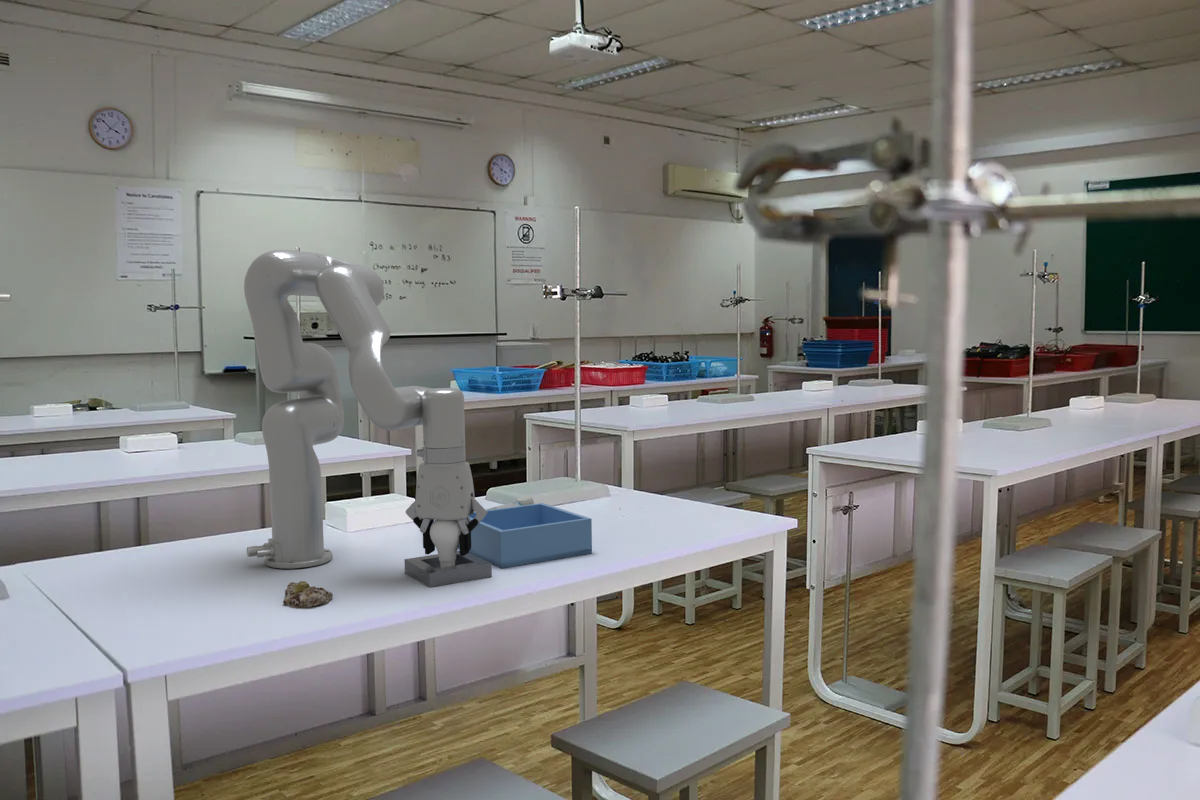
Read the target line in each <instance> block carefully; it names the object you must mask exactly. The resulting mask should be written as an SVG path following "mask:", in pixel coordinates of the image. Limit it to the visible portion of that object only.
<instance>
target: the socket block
mask: <svg viewBox="0 0 1200 800" xmlns="http://www.w3.org/2000/svg"><path fill="white" fill-rule="evenodd" d="M492 565H493V564H492V563H490V562H488V561H486V560H484V559H482V558H480V557H477V556H475V555H473V554H471V553H468V554H466V555H465V556H461V555H460V550H457V553H456V560H455V566H450V567H443V568H441V566H440V561H439V556H438V553H437V554H428V555H424V556H417V557H411V558H405V559H404V573H405V574H406V575H408V576H410V577H412V578H414V579H415V580H417V581H419V582H420V583H422V584H423V583H424V584H423V585H425V584H426V585H425V586H427V587H429V588H433V586H435V587H439V586H438V585H440V586H445V585H444V584H446V585H450V584H449V583H452V584H456V583H455V582H458V583H462V582H463V581H464V582H468V581H469V582H470V581H475V580H480V579H486V578H492V577H493V573H492V570H493V569H492V568H493V567H492Z"/></svg>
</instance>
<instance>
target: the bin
mask: <svg viewBox="0 0 1200 800" xmlns="http://www.w3.org/2000/svg"><path fill="white" fill-rule="evenodd" d="M486 511H487V513H488V514H487V516H486V517H485V518H484V519H483V520H482V521H481V522H480V523H479V524H478V525H477V526H476V527H475V528H474V529H473V530H472V531H471V550H469V553H471V554H473V555H475V556H477V557H480V558H482V559H484V560H486V561H488V562H490V563H492V565H493V566H495V567H497V568H500V569H508V568H512V567H513V566H514V567H519V566H518V565H520V566H525V565H524V564H526V565H530V564H531V563H532V564H538V563H544V562H549V561H554V560H560V559H567V557H568V558H572V557H573V556H574V557H579V556H578V555H580V556H583V555H584V556H586V555H591V554H593V539H592V538H593V534H592V533H593V532H592V530H593V529H592V522H593V521H592V518H590V517H587V516H584V515H581V514H578V513H576V512H572V511H569V510H567V509H566V510H565V509H562V508H559V507H556V506H553V505H550V504H547V503H543V502H540V503H534V504H531V505H523V506H516V507H508V508H500V509H493V510H486ZM475 516H476V512H475V511H474V513H473V514H472V515H469V518H470V520H473V519H474V518H475ZM458 549H459V550H460V544H459V546H458ZM574 557H573V558H574ZM532 564H531V565H532Z"/></svg>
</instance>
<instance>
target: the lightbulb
mask: <svg viewBox="0 0 1200 800" xmlns="http://www.w3.org/2000/svg"><path fill="white" fill-rule="evenodd" d="M460 534H462V530H461V528H460V525H459V523H458V520H434V522H433V523H432V525H431V528H430V537H431V540H432V542H433V543H434V545H435V550H436V551H437V554H438V556H439V561H440V566H441V568H443V567H450V566H455V560H456V553H457V551H458V549H459V548H458V546H459V544H460V541H459V536H460Z"/></svg>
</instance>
